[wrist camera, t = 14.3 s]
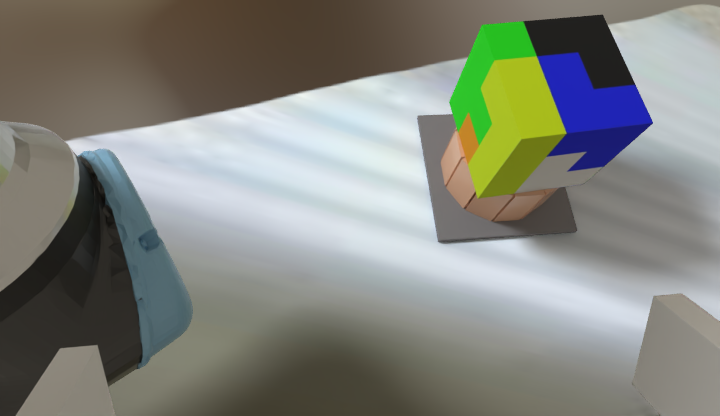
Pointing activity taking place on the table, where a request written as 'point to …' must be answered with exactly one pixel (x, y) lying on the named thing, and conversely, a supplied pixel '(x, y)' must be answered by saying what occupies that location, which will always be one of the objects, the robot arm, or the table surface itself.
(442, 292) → the table surface
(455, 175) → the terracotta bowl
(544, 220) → the rubber mat
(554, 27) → the puzzle toy
